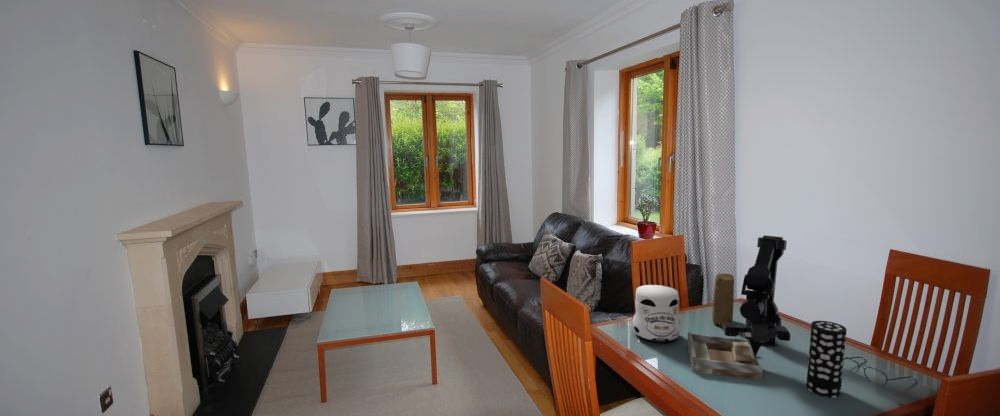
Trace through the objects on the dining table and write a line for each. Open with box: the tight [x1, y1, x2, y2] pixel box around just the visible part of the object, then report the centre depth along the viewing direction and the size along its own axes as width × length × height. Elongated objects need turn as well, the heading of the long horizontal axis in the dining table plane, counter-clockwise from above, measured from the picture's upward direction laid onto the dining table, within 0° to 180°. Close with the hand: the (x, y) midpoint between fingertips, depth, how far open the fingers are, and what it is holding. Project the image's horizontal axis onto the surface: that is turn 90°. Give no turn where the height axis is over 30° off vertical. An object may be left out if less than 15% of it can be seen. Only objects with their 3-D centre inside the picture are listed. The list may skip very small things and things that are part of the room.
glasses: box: [844, 356, 912, 385], centre depth 144 cm, size 14×15×5 cm
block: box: [711, 273, 735, 327], centre depth 184 cm, size 11×8×20 cm
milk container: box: [632, 284, 681, 343], centre depth 173 cm, size 17×17×18 cm
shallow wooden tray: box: [687, 331, 763, 381], centre depth 153 cm, size 20×20×5 cm
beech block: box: [733, 342, 752, 361], centre depth 151 cm, size 4×4×4 cm
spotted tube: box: [805, 320, 847, 399], centre depth 133 cm, size 8×8×20 cm
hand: (754, 355), depth 150 cm, fingers closed
